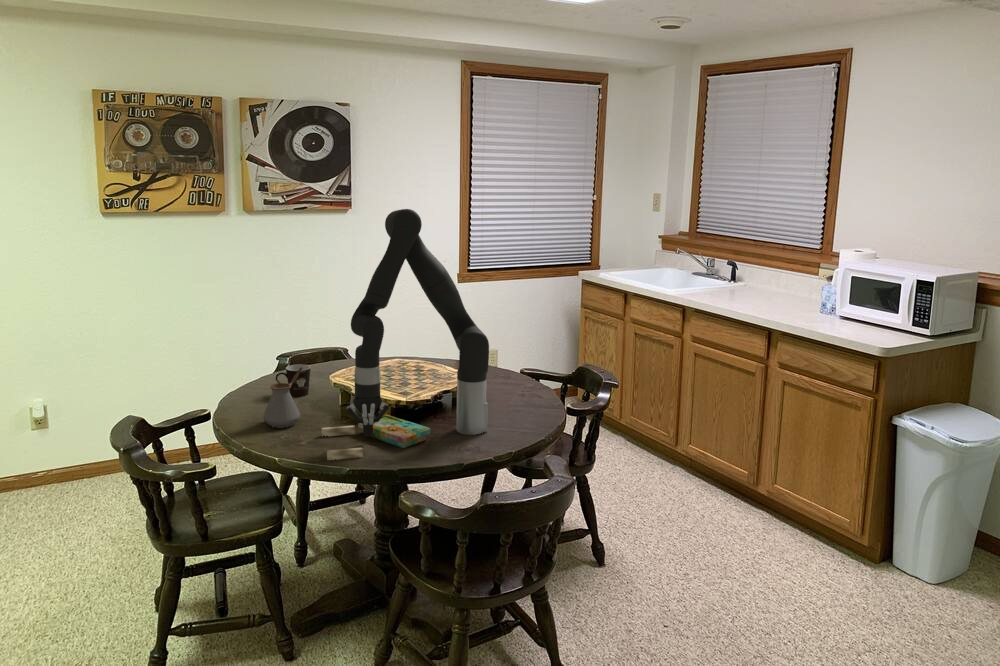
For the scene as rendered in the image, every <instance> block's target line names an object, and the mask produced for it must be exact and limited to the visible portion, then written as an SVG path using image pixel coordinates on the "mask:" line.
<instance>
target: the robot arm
mask: <svg viewBox="0 0 1000 666" xmlns="http://www.w3.org/2000/svg"><path fill="white" fill-rule="evenodd" d="M422 226H423V224H422V219H421V216H420V215H419V214H418V213H417V211H415V210H414V209H410V208H402V209H397V210H396V209H395V210H393V211H392V212H390V213H389V214H387V216H386V218H385V221H384V227H385V232H386V233H387V235H388V237H389V242H388V246H387V248H386V250H385V252H384V255H383V257H382V258H381V260H380V262H379V264H378V265H377V267H376V269H375V270H374V272H373V274H372V276H371V279H370V280H369V281H370V282H369V284H368V287H367V290H366V293H365V296H364V297H363V299H362V300H361V301H360V303H359V305H358V306H357V308H356V309H355V311H354V312H353V315H352V316H351V319H350V330H351V332H352V333H353V334H355V336H358V337H361V338H362V342H361V344H359V345H358V346H357V347H356V348H355V351H354V352H355V353H354V359H355V361H354V363H355V367H354V399H353V401H352V403H351V404H350V405H347V406H346V411H347V413H348V414H349V415H350V416H351V417H352V419H354V420H355V422H356V423H357V424H358V423H359V424H360V423H361V424H363V429H362V433H363V434H364V435H363V436H365V437H371V434H373V424H374V423H375V422H379V420H380V419H381V418H382V417H383V415H386V414H387V412H388V410H389V408H390V406H389V404H388V403H385V402H384V401H383V399H382V397H381V368H380V350H381V347H382V344H383V339H384V334H385V325H384V323H383V320H382V319H381V318H380V317H379V316H377V313H378V312H379V310H383V309H385V308H387V307H388V305H389V302H390V299H391V296H392V294H393V292H394V288H395V286H396V282H397V281H398V278H399V275H400V272H401V270H402V267H403V265H404V263H405V261H407V264H408V266H409V267H410V270H411V272H412V273H413V274H414V276H415V278H416V280H417V281H418V283H419V286H420V287H421V289H422V291H423V292H424V294H425V295H426V297H427V298H428V301H429V302H430V304H431V305H432V306H433V308H434V310H435V311H436V312H437V313H438V314H439V315H440V316H441V318H442V319H443V320H444V322H445V323H446V326H448V329H449V331H450V333H451V335H452V337H453V340H454V342H455V345H456V347H457V349H458V352H459V356H458V357H459V361H458V368H457V371H456V381H457V382H456V424H455V425H456V432H458V433H459V434H460V435H461V434H462V435H466V436H476V435H477V434H478V435H481V433H482V434H483V432H484V433H488V416H489V415H488V414H489V412H488V411H489V403H488V402H487V376H488V372H489V364H490V363H489V359H490V342H489V339H488V337H487V335H486V334H485V333H484V331H482V330H481V329H480V328H479V327H478V326H477V324H476V323H475V321H474V320H473V319H472V317H471V316H470V315H469V313H468V312H467V309H466V308H465V305H464V303H463V300H462V296H461V295H460V293H459V290H458V287H457V285H456V283H454V281H453V278H452V277H451V275H450V273H449V272H448V270H447V269H446V268H445V266H444V264H442V263H441V261H440V260H438V259H437V257H436V256H435V255H434V254H433V253H432V252H431V251H430V250H429V249H428V248H427V246H426V245H425V243H424V241H423V240H422V238H421V236H420V232H421V230H422ZM356 409H357V410H358V411H359V413H360V414H361V417H360V416H359V415H358V413H356ZM378 409H379V410H378ZM377 410H378V411H377ZM376 412H377V413H376ZM375 413H376V414H375ZM367 420H368V423H367Z"/></svg>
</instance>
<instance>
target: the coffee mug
mask: <svg viewBox="0 0 1000 666" xmlns="http://www.w3.org/2000/svg"><path fill="white" fill-rule="evenodd" d="M301 367H302V368H304V369H305V370H304V369H302V371H301V373H300V374H299V375H298V378H297V379H296V380H295V381H294V383H293V384H292V385H291V388H290V390H289V392H290V394H291V396H294V398H302V396H303V397H306V395H307V396H308V395H309V389H310V377H311V369H312V368H311V366H310V365H308V364H292V365H287V366H286V367H285V372H279V373H277V374H276V375H275V380H276V382H277V383H281V382H280V381H279V380H278V378H279V376H280V375H284V376H285V378H287V379H286V380H287V383H288V384H290V382H291V380H292V379H293V377H294V375H295V374H296V373H297V371H298V370H299V369H300V368H301Z"/></svg>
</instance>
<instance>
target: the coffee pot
mask: <svg viewBox="0 0 1000 666" xmlns="http://www.w3.org/2000/svg"><path fill="white" fill-rule="evenodd" d="M302 369H304V368H302V367H301V368H300V369H299V370H298V371H297V373H296V374H295V375H294V377H293V379H292V380H291V382H290V384H288V382H280V383H278V382H277V383H274V384H270V386H269V388H270V389H271V396H270V398H269V400H268V403H267V405H266V407H265V411H264V413H263V415H262V418H263V420H264V422H265V423H266V424H267V425H269V426H270V425H271V426H272V427H271V426H270V427H271V428H274V427H277V428H276V429H284V427H286V428H290V427H293V426H294V425H295V423H297V422H298V421H299V419H300V417H301V413H300V410H299V408H298V407H297V405H296V402H295V401H294V398H293V397H292V396H291V394H290V391H289V390H290V388H291V385H292V384H293V383H294V381H295V380H296V379H297V378H298V375H299V374H300V373H301V371H302ZM304 370H305V369H304ZM289 426H290V427H289Z"/></svg>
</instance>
